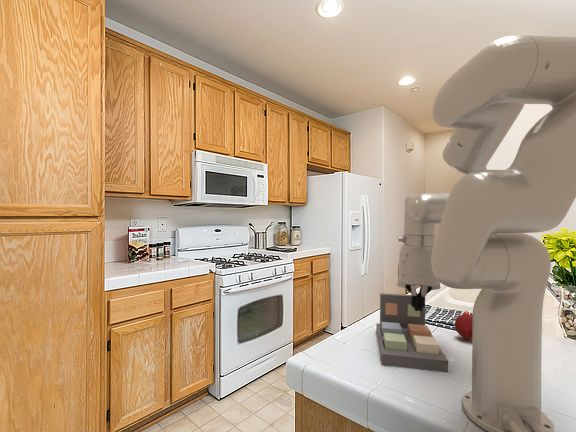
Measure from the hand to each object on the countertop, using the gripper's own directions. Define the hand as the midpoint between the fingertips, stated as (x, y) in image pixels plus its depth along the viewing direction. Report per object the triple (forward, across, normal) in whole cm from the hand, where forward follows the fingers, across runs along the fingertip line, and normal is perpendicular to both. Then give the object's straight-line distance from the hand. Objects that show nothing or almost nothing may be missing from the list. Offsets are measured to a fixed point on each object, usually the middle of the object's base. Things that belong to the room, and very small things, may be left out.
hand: (417, 309), depth 81 cm
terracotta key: (+7, 0, -1) cm, 7 cm away
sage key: (+7, -7, -9) cm, 13 cm away
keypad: (+9, -3, -4) cm, 11 cm away
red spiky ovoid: (+9, +14, +6) cm, 18 cm away
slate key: (+7, -7, -1) cm, 10 cm away
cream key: (+7, 0, -9) cm, 11 cm away
